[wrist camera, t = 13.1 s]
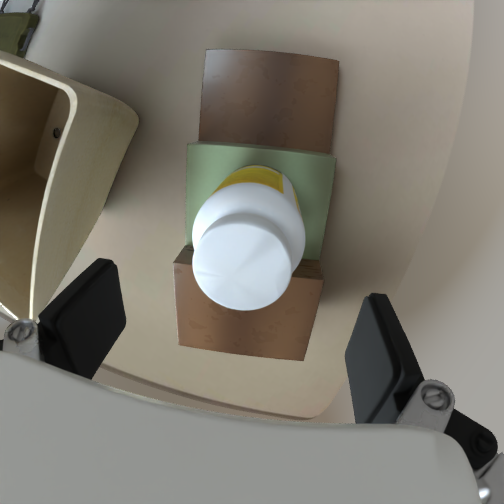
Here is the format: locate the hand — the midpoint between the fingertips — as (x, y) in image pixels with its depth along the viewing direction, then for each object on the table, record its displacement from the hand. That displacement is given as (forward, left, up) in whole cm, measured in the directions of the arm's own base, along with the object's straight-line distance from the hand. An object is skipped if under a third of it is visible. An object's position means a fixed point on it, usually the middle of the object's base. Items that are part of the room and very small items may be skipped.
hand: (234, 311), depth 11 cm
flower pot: (+21, -4, -21) cm, 30 cm away
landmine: (+37, -25, -21) cm, 49 cm away
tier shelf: (0, 0, -21) cm, 21 cm away
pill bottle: (0, 0, -15) cm, 15 cm away
